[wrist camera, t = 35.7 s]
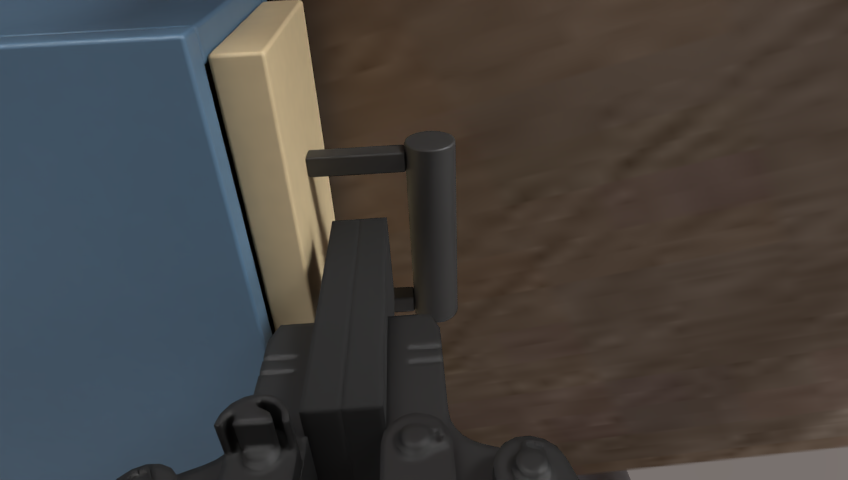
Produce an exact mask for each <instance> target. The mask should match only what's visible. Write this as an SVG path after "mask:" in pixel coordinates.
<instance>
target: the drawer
mask: <svg viewBox="0 0 848 480" xmlns="http://www.w3.org/2000/svg"><path fill="white" fill-rule="evenodd" d="M204 66H205V70H206V74H207V78H208V82H209V86H210V90H211V94H212V98H213V102H214V106H215V110H216V114H217V118H218V122H219V126H220V130H221V134H222V138H223V142H224V146H225V149H226V153H227V157H228V161H229V165H230V169H231V173H232V177H233V181H234V185H235V189H236V193H237V197H238V201H239V205H240V209H241V213H242V217H243V221H244V225H245V229H246V233H247V237H248V241H249V245H250V249H251V253H252V257H253V261H254V265H255V269H256V272H257V276H258V280H259V284H260V288H261V292H262V296H263V300H264V304H265V308H266V312H267V316H268V320H269V324H270V328H271V332H272V335H273V334H274V333H275V332H276V330H277V329H278V328H279V327H280V325H289V324H304V323H314V322H315V316H316V310H317V305H318V299H319V293H320V288H321V282H322V276H323V270H324V265H325V259H326V253H327V248H328V242H329V236H330V231H331V225H332V221H335V216H334V209H333V203H332V196H331V189H330V183H329V176H343V175H361V174H378V173H395V172H405V171H406V176H407V192H408V207H409V222H410V238H411V253H412V268H413V284H414V288H413V287H400V288H394V312H406V311H414V310H415V311H416V313H417V314H430V315H431V316H432V318H433V319H434V321H435V322H436V323H437V322H444V321H447V320H449V319H451V318H452V317H453V316H454V315H455V314H456V312H457V308H458V306H457V225H456V145H455V139H454V137H453V136H452V135H450V134H448V133H445V132H440V131H424V132H419V133H415V134H412V135H410V136H409V137H407V138H406V140H405V142H404V145H390V146H372V147H355V148H338V149H324V142H323V136H322V129H321V122H320V115H319V109H318V102H317V95H316V89H315V82H314V75H313V68H312V62H311V55H310V48H309V42H308V35H307V28H306V21H305V15H304V8H303V3H302V1H301V0H286V1H267V2H262V3H261V4H260V5H259V6H258V7H257V8H256V9H255V10H254V11H253V12H252V13H251V14H250V15H249V16H248V17H247V18H246V19H245V20H244V21H243V22H242V23H241V24H240V25H239V26H238V27H237V28H236V29H235V30H233V31H232V32H231V33H230V34H229V35H228V36H227V37H226V38H225V39H224V40H223V41H222V42H221V43H220V44H219V45H218V46H217V47H216V48H215V49H214V50H213V51H212V52H211V53H210V54H209V55H208V62H207V63H206V64H204Z"/></svg>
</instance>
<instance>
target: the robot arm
mask: <svg viewBox="0 0 848 480" xmlns="http://www.w3.org/2000/svg"><path fill="white" fill-rule="evenodd" d="M214 428H215V430H216V433H217V436H218V438H219V441H220V444H221V446H222V449H223V451H224V455H222V456H221V457H219V458H218V459H216V460H214V461H212V462H210V463H207V464H205V465H202V466H199V467H197V468H194V469H191V470H188V471H185V472H182V473H180V474H177V475H176V474H175V472H174V471H173V469H172V468H170V467H168V466H165V465H163V464H146V465H143V466H140V467H137V468H134V469H131V470H130V471H128V472H127V473H125V474H123V475H122V476H120V477H119V478H117V479H116V480H579V479H578V477H577V475H576V474H575V472H574V470H573V468H572V467H571V465H570V463H569V462H568V460H567V458H566V457H565V456H564V454H563V453H562V452H561V451H560V450H559V449H558V447H557V446H555V445H553V444H552V443H550V442H548V441H547V440H545V439H542V438H537V437H533V436H523V437H515V438H513V439H511V440H509V441H507V442H505V443H504V444H503V445H502V446H501V447H500V448H499V447H494V446H490V445H486V444H481V443H478V442H475V441H473V440H470V439H469V438H467V437H465V436H464V435H462V434H461V433H460V432H459V431H458V430H457V429H456V428H455V427H454V425H453V423H452V422H451V420H450V416H449V412H448V403H447V394H446V384H445V374H444V364H443V355H442V345H441V335H440V327H439V326H438V325H437V323H436V322H435V321H434V319H433V318H432V316H431V315H430V314H417V315H402V316H394V287H393V276H392V266H391V256H390V246H389V236H388V225H387V217H386V218H370V219H355V220H340V221H332V225H331V231H330V236H329V242H328V248H327V253H326V259H325V265H324V270H323V276H322V282H321V288H320V293H319V299H318V305H317V310H316V316H315V322H314V323H304V324H289V325H280V327H279V328H278V329H277V330H276V332H275V333H274V334H273V335H272V336H271V338H270V339H269V340H268V343H267V346H266V350H265V354H264V357H263V362H262V365H261V369H260V376H258V380H257V384H256V387H255V391H254V395H251V396H246V397H243V398H241V399H239V400H237V401H235V402H233V403H232V404H230V405H229V406H228V407H227V408H226V409H225V410H224V411H223V412H221V413H220V415H219V417H218V418H217V420H216V422H215V424H214Z"/></svg>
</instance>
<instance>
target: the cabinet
mask: <svg viewBox="0 0 848 480" xmlns="http://www.w3.org/2000/svg"><path fill="white" fill-rule="evenodd" d="M262 2H267V0H0V480H116V479H117V478H119V477H120V476H122V475H123V474H125V473H127V472H128V471H130V470H131V469H134V468H137V467H140V466H143V465H146V464H163V465H165V466H168V467H170V468H172V469H173V471H174V472H175V474H176V475H177V474H180V473H182V472H185V471H188V470H191V469H194V468H197V467H199V466H202V465H205V464H207V463H210V462H212V461H214V460H216V459H218V458H219V457H221V456H222V455H224V451H223V449H222V446H221V444H220V441H219V438H218V436H217V433H216V430H215V428H214V424H215V422H216V420H217V418H218V417H219V415H220V413H221V412H223V411H224V410H225V409H226V408H227V407H228V406H229V405H230V404H232V403H233V402H235V401H237V400H239V399H241V398H243V397H246V396H251V395H254V391H255V387H256V384H257V380H258V376H260V369H261V365H262V362H263V357H264V354H265V350H266V346H267V343H268V340H269V339H270V338H271V336H272V332H271V328H270V324H269V320H268V316H267V312H266V308H265V304H264V300H263V296H262V292H261V288H260V284H259V280H258V276H257V272H256V269H255V265H254V261H253V257H252V253H251V249H250V245H249V241H248V237H247V233H246V229H245V225H244V221H243V217H242V213H241V209H240V205H239V201H238V197H237V193H236V189H235V185H234V181H233V177H232V173H231V169H230V165H229V161H228V157H227V153H226V149H225V146H224V142H223V138H222V134H221V130H220V126H219V122H218V118H217V114H216V110H215V106H214V102H213V98H212V94H211V90H210V86H209V82H208V78H207V74H206V70H205V66H204V64H206V63H207V62H208V55H209V54H210V53H211V52H212V51H213V50H214V49H215V48H216V47H217V46H218V45H219V44H220V43H221V42H222V41H223V40H224V39H225V38H226V37H227V36H228V35H229V34H230V33H231V32H232V31H233V30H235V29H236V28H237V27H238V26H239V25H240V24H241V23H242V22H243V21H244V20H245V19H246V18H247V17H248V16H249V15H250V14H251V13H252V12H253V11H254V10H255V9H256V8H257V7H258V6H259V5H260V4H261V3H262Z"/></svg>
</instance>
